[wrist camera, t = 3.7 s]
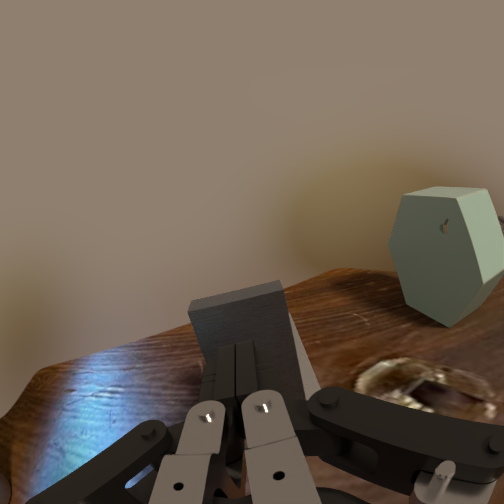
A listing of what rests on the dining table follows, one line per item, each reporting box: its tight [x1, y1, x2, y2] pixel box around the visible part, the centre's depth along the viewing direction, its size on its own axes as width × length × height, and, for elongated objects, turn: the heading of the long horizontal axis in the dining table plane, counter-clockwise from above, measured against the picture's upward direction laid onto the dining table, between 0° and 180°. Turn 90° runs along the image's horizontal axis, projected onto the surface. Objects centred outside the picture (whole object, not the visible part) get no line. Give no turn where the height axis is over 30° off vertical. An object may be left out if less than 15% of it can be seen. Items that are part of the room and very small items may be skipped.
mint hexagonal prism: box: [388, 187, 504, 328], centre depth 34 cm, size 17×8×21 cm
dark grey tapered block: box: [188, 280, 306, 400], centre depth 24 cm, size 11×6×10 cm, turn 3°
